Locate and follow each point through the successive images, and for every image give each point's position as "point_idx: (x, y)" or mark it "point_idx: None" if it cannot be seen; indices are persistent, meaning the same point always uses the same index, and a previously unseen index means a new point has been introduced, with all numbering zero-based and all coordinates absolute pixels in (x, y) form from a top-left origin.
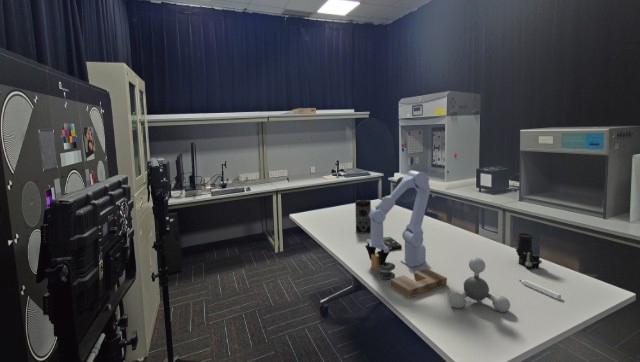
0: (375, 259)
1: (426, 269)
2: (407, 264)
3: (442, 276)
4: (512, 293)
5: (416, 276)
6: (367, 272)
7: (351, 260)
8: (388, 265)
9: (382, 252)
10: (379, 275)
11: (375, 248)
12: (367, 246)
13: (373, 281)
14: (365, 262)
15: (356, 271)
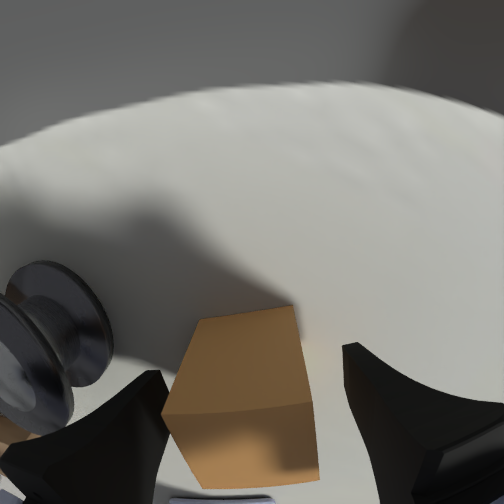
0: (195, 383)
1: None
2: (204, 501)
3: (3, 474)
4: None
5: (19, 433)
6: (161, 197)
7: (496, 179)
8: (2, 384)
9: (18, 486)
10: (39, 267)
11: (381, 501)
12: (461, 458)
13: (8, 183)
14: (409, 289)
15: (231, 90)
